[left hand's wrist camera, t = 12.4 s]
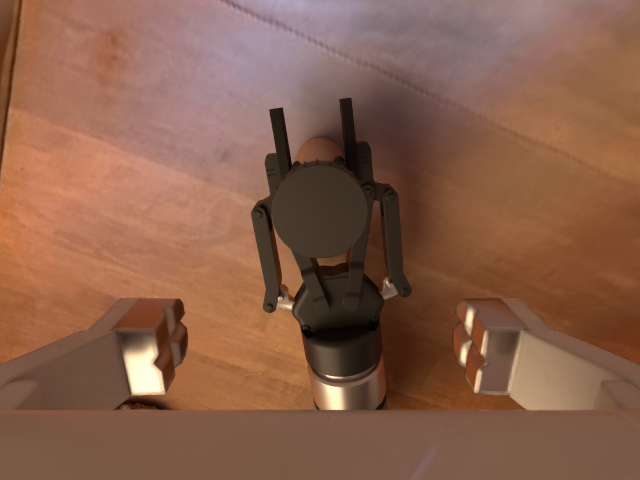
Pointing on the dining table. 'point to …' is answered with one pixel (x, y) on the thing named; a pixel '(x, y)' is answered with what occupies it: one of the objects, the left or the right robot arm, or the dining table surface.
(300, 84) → the dining table surface
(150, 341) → the left robot arm
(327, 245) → the lid
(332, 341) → the right robot arm
